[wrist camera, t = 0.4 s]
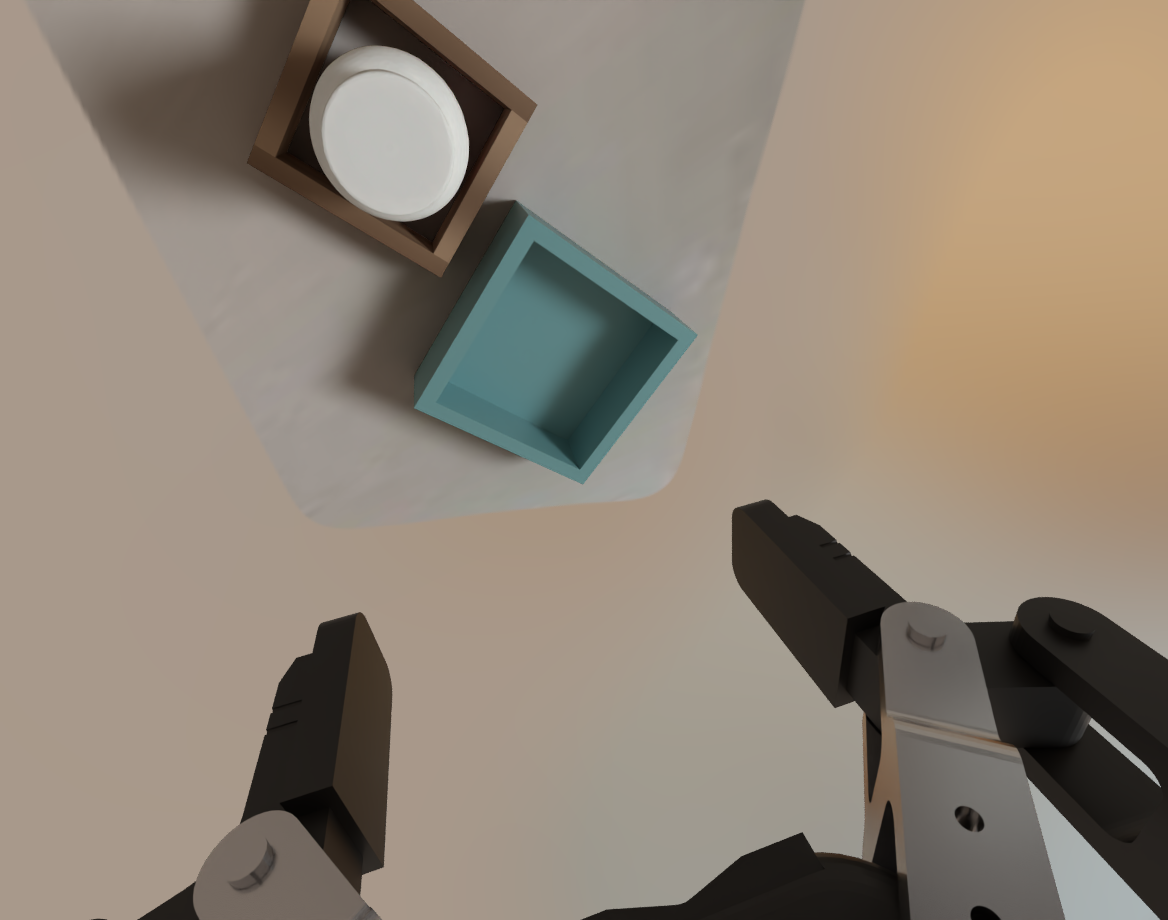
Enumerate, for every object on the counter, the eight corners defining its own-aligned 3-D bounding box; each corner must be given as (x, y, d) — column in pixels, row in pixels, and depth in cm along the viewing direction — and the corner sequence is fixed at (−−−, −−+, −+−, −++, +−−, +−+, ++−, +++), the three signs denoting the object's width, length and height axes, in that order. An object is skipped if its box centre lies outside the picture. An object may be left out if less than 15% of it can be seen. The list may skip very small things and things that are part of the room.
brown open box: (343, -50, 21) (335, -65, 19) (527, 103, 26) (537, 104, 24) (260, 157, 24) (246, 162, 22) (439, 264, 28) (440, 277, 26)
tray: (515, 200, 28) (528, 214, 24) (670, 311, 33) (697, 335, 30) (414, 375, 31) (413, 408, 28) (568, 449, 37) (582, 484, 33)
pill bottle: (401, 219, 27) (394, 272, 19) (305, 117, 24) (250, 129, 16) (482, 141, 26) (510, 162, 18) (393, 24, 23) (381, -12, 15)
